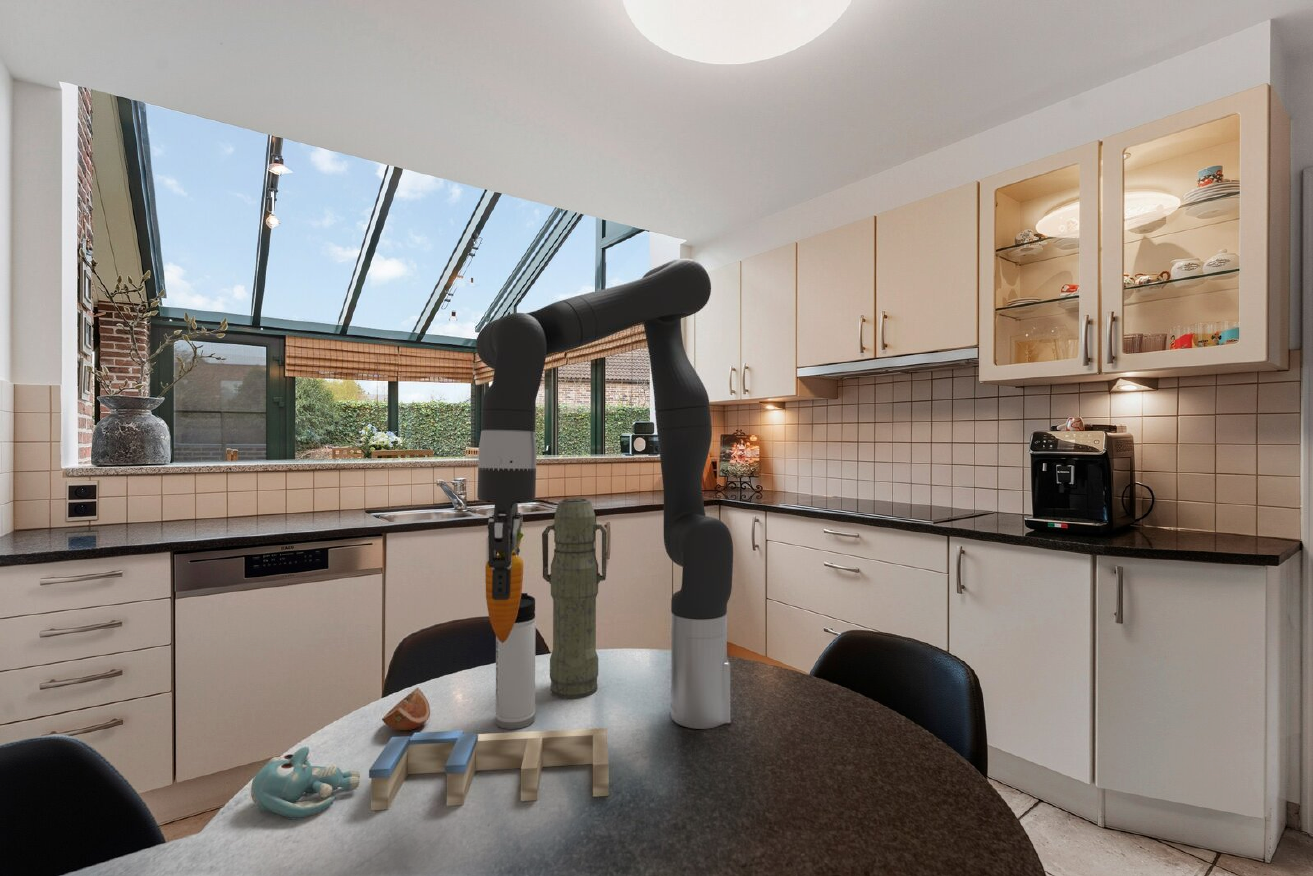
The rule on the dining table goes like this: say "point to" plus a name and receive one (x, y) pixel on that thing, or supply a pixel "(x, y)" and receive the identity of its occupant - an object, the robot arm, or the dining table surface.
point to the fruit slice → (409, 712)
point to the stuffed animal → (298, 785)
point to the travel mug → (517, 670)
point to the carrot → (505, 610)
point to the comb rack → (486, 759)
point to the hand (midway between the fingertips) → (503, 593)
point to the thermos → (574, 597)
